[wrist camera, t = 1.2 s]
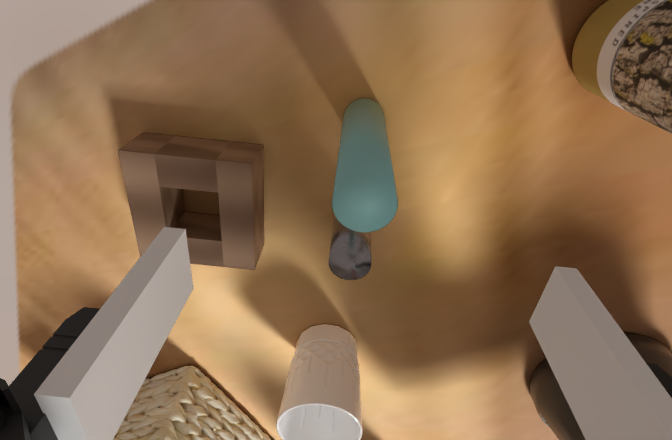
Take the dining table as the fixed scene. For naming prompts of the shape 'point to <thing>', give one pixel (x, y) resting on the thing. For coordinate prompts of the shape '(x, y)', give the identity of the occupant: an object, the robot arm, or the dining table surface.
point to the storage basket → (185, 411)
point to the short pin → (349, 252)
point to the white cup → (322, 388)
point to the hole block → (202, 175)
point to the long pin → (364, 170)
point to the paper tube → (629, 57)
